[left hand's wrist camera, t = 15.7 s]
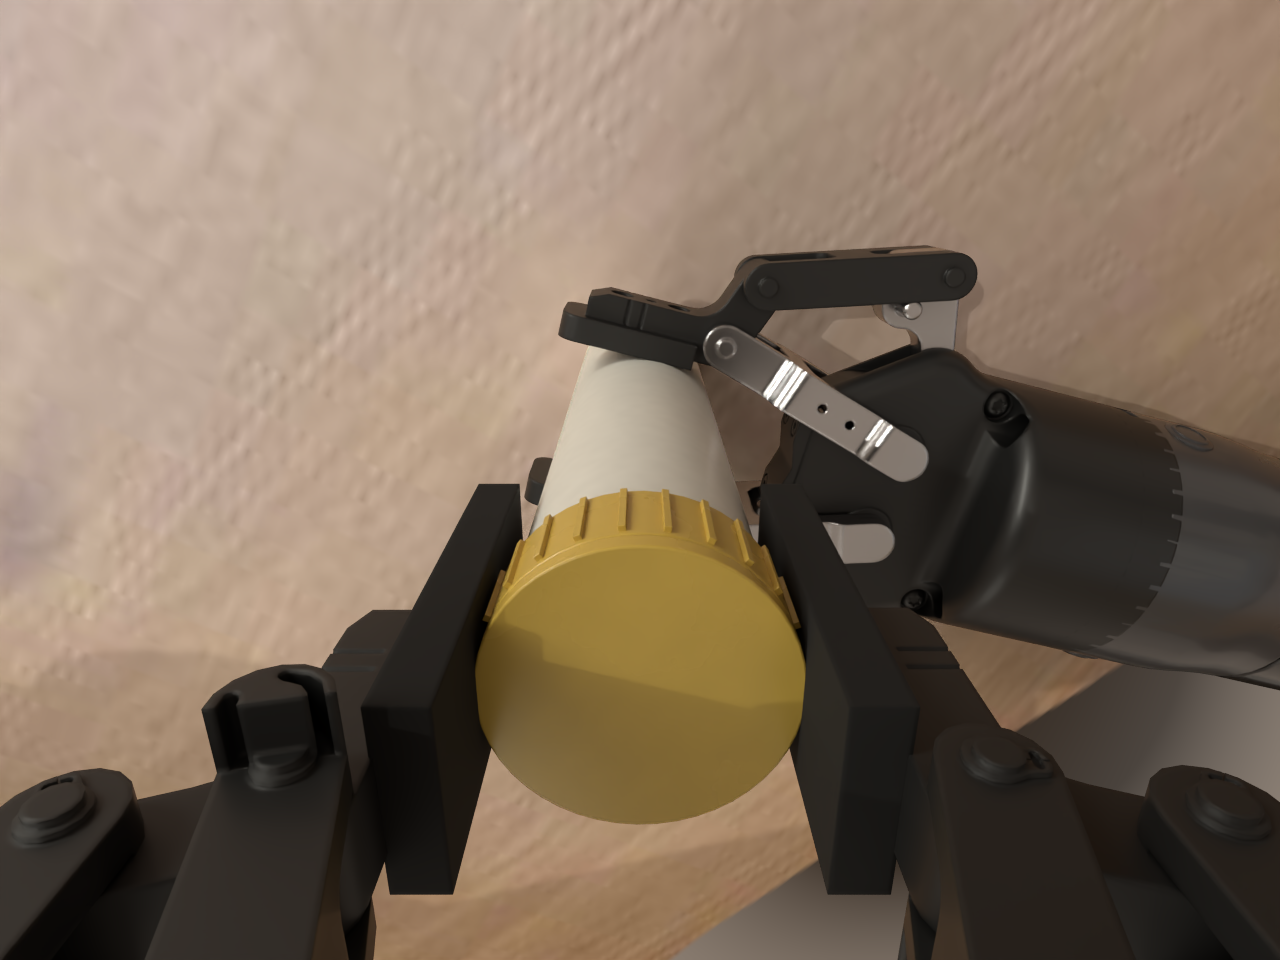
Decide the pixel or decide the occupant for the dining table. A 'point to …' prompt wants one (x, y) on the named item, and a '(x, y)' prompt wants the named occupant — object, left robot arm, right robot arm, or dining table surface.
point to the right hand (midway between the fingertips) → (549, 400)
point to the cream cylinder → (639, 437)
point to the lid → (640, 660)
